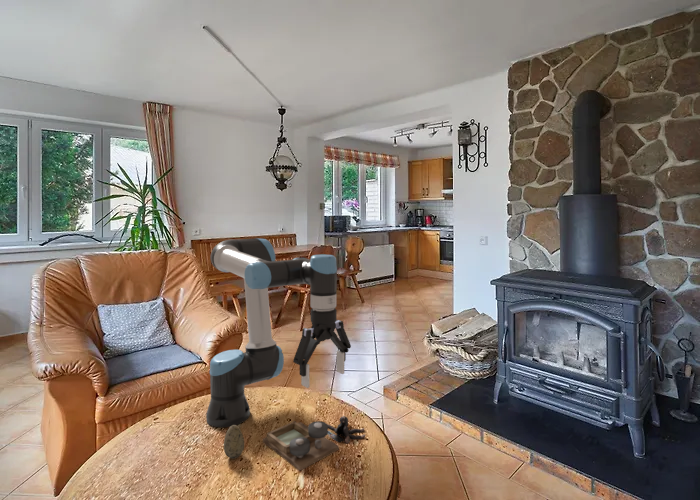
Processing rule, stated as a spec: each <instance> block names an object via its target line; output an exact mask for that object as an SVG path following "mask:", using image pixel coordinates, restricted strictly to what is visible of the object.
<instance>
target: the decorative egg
mask: <svg viewBox="0 0 700 500" xmlns="http://www.w3.org/2000/svg"><path fill="white" fill-rule="evenodd" d="M244 448H245V439H244V435H243V433H242V430H241V429H240V427H239V426H238V425H232V426H230V427H229V428H228V430H226V432H225V435H224V439H223V451H224V454H225V455H226V457H227V458H229V459H234V460H235V459H237V458H239V457H240V456H241V455H242V453H243V452H244Z"/></svg>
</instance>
